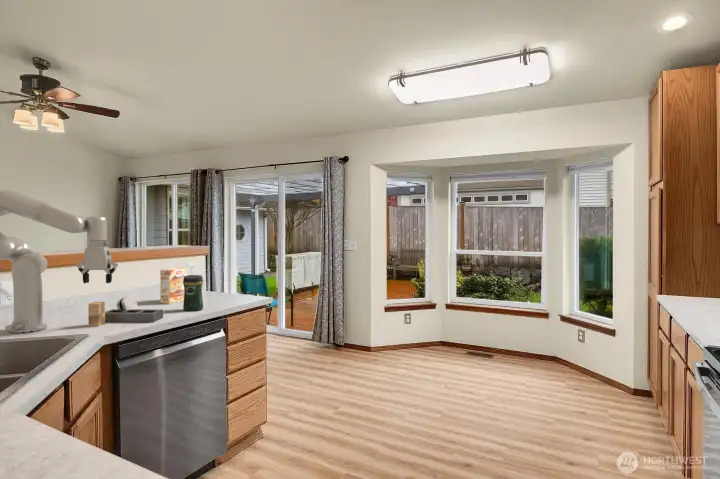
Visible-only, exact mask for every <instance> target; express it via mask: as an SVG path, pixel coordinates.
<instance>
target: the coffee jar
mask: <svg viewBox="0 0 720 479" xmlns="http://www.w3.org/2000/svg"><path fill="white" fill-rule="evenodd" d="M203 284H204V280H203V276H202V275H201V274H200V275H199V274H188V275H187V276H184V279H183V285H184V301H183V305H182V307H183V311H186V312H196V311H202V310H203V309H204V299H203V292H202V291H203V290H202V289H203Z"/></svg>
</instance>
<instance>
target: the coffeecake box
mask: <svg viewBox="0 0 720 479" xmlns="http://www.w3.org/2000/svg"><path fill="white" fill-rule="evenodd" d="M159 270H160V278H159V279H160V280H159V281H160V285H159V286H160V287H159V288H160V289H159V291H160V292H159V293H160V294H159V296H160V297H159V301H160V304H166V305H172V304H176V302H177V303H180V301H181V302H184V285H183V279H184V276H187V275H189V274H188V270H189V268H188V267H174V268H165V269H164V268H163V269H159Z"/></svg>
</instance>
